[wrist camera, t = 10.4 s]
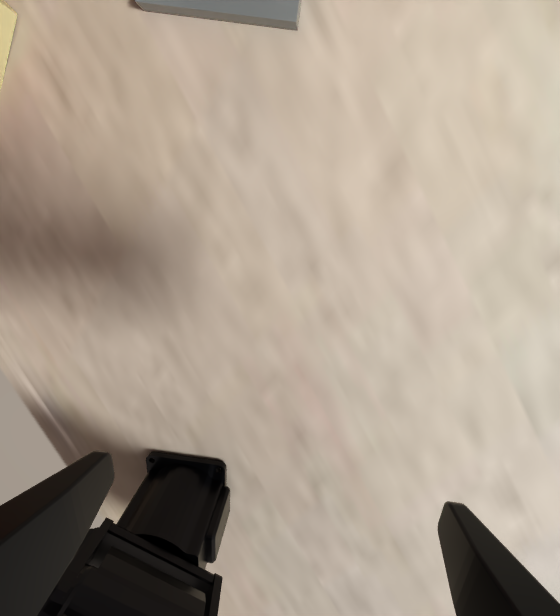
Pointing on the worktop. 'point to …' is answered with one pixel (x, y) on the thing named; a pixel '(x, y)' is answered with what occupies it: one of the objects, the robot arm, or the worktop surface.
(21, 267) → the worktop surface
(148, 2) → the slate coaster
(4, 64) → the milk carton
